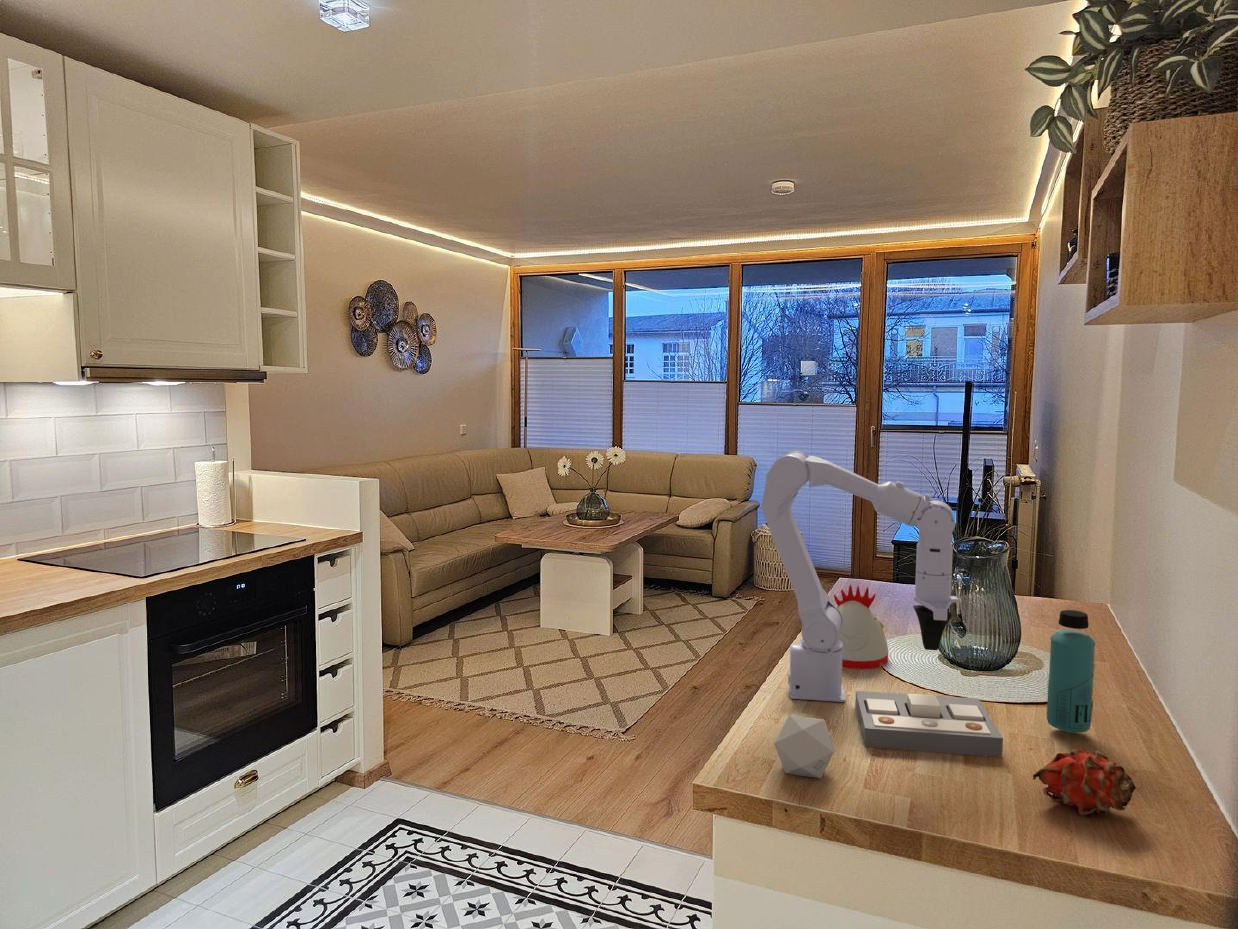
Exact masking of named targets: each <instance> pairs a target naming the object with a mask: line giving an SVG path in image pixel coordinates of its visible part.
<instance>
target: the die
mask: <svg viewBox="0 0 1238 929" xmlns="http://www.w3.org/2000/svg"><path fill="white" fill-rule="evenodd" d="M774 746H775V749H776V753H777V755H778V758H779V760H780V763H781V765H782V768H783V770H784V772H785V774H789V775H795V776H802V777H808V778H809V777H810V778H815V779H820V780H821V779H822V778H823V775H824V773H825V772H826V769H827V767H828V765H829V764H830V761H831V759H832V757H833V755H834V752H835V751H836V749H835V745H834V743H833V740H832V737H831V734H830V732H829V729H828V726H827V724H826V720H825V719H823V718H815V717H806V716H802V715H801V716H800V715H793V714H789V715H788V716H787V718H786V720H785V722H784V723H783V726H782V728H781V730H780V732H779V733H778V735H777V737H776V739H775V741H774Z"/></svg>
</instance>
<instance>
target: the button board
mask: <svg viewBox="0 0 1238 929" xmlns="http://www.w3.org/2000/svg"><path fill="white" fill-rule="evenodd" d="M907 694H908V693H897V692H894V693H893V692H880V691H863V690H855V704H854V707H855V712H856V716H857V720H858V725H859V730H860V733H861V738H862V741H863V744H864V745H863V746H864V747H865V748H878V749H889V750H890V749H891V750H892V749H893V750H903V751H917V752H932V753H945V754H954V755H956V754H958V755H968V754H969V755H972V756H981V755H983V756H985V755H987V756H985V757H994V756H1002V757H1003V745H1004V737H1003V736H1002V734H1001V732H1000V731H999V729H998V727H997V726H996V725H995V722H994V720H992V718H991V716H990V715H989V713H988V712H987V710H986V707H984V705H983V704H982V702H981V700H980V699H979V698H975V697H958V696H956V697H955V696H942V695H941V696H940V695H935V696H936V698H937V700H938V702H939V704H940V706H941V707H940V718H934V717H919V716H911V714H910V712H909V709H908V707H907ZM866 699H882V700H894V702H895V705H896V708H897V711H898V715H890V714H875V713H867V711H866ZM948 704H958V705H974V706H977V707H978V709H979V710H980V712H981V714H982V715H983V721H977V720H963V719H952V718H951V716H950V714H949V712H948Z"/></svg>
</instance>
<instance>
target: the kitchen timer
mask: <svg viewBox="0 0 1238 929" xmlns="http://www.w3.org/2000/svg"><path fill="white" fill-rule="evenodd" d="M859 586H860V585H857V587H856V591H855V594H854V593H853V588H852V587H853V586H852V584H849V586H848V592H847V594H846V592H845V591H844V589H841V590H840V594H841V597H842V600H840V599H839V598H838V597H837V595H836V594H835V593H834V594H833V598H834V601H835V603H836V604H837V605H836V607H837V608H838V610H839V611H840V612H841V614H842V618H843V623H842V627H841V629H840V630H839V635H838V637H839V639H840V641H841V642H842V643H843V654H842V668H845V669H853V670H855V669H856V670H871V669H876V668H881V667H883V666H886V664H887V663H888V660H889V648H888V647H889V646H888V641H887V636H886V634H885V631H884V627H885V625H884V624H883V623H882V622H881V621H880V619H879V618H878V616H877V614H875V612H874V611H873V610H872V609H871V608H870V607H871V605H872V604H873V602H874V600H875V598H876V594H877V593H876V592H875V593H874V594H873V595H872V596H871V597H870V596H869V594H870V593H869V590H870V589H869V587H868V586H867V587H866V589H865V592H864V595H861V590H860V587H859Z"/></svg>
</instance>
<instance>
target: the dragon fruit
mask: <svg viewBox="0 0 1238 929" xmlns="http://www.w3.org/2000/svg"><path fill="white" fill-rule="evenodd" d="M1093 753H1094V754H1095V755H1094V754H1093ZM1093 753H1092V752H1090V751H1087V752H1085V751H1084V750H1082V749H1079V748H1078V749H1071V750H1070V751H1069V753H1068V752H1058V753H1056V755H1055V757H1054V758H1053V759H1052V760H1051V761H1050V762H1048V763H1047V764H1046V765H1045V766H1043V768H1040V769H1039V770H1038V771H1036V772H1035V773H1034V774H1033V775H1032V778H1033V781H1035V780H1037V778H1038V780H1039V781H1040V782H1041V783H1042V784H1043V785H1046V786H1047V787H1046V786H1045V787H1044V788H1042V792H1043V794H1044V795H1046V797H1049V798H1050V799H1051V800H1052V801H1055V802H1061V803H1062V804H1064V805H1066V806H1076V807H1078V813H1079V814H1080V815H1081V816H1085V815H1090V814H1094V812H1096V813H1097V814H1098V815H1106V813H1107V812H1108V811H1109V810H1110V808H1112V809H1115V810H1116V811H1125V809H1126V807H1127V805H1128V804H1129V803H1130V802H1131V800H1132V797H1133V793H1134V791H1136V789H1137V787H1136V785H1135V784H1134V779H1133V778H1132V777H1131V776H1130V775H1129V774H1128V773H1126V771H1125V768H1124V766H1122V765H1120V764H1117V763H1116V762H1115V761H1109V758H1108V757H1107V756H1106V755H1105V754H1103V753H1102V752H1100V751H1095V750H1094V751H1093Z"/></svg>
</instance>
